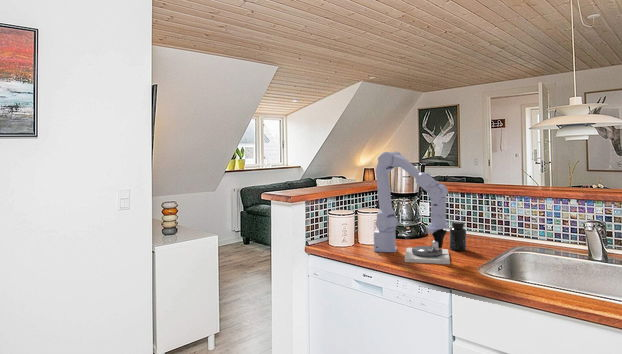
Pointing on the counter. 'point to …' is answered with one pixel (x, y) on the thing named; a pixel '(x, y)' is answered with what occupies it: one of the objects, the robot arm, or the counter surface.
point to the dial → (428, 250)
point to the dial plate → (420, 259)
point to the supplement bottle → (457, 237)
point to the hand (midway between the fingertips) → (438, 247)
